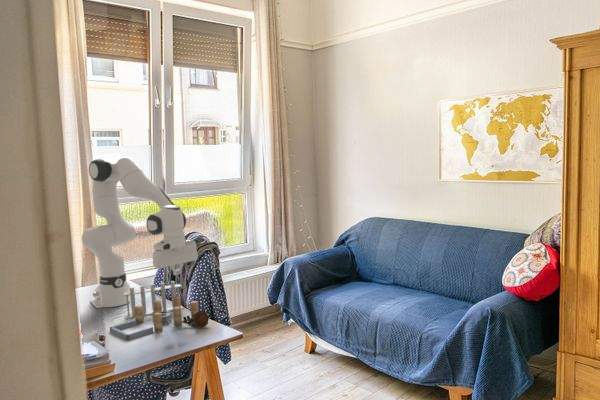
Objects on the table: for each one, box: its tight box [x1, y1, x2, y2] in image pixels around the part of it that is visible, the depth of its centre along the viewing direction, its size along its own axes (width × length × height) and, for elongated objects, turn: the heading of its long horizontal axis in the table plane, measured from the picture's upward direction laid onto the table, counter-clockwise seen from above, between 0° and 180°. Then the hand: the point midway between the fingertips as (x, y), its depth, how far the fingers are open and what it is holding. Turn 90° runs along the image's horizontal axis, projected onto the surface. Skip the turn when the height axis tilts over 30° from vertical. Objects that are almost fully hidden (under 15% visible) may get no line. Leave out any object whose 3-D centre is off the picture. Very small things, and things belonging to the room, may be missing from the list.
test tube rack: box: [123, 280, 184, 320], centre depth 217 cm, size 25×4×13 cm, turn 115°
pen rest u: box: [109, 319, 154, 341], centre depth 194 cm, size 15×11×2 cm
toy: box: [181, 309, 210, 329], centre depth 199 cm, size 10×7×15 cm
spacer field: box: [134, 295, 200, 333], centre depth 206 cm, size 19×21×7 cm
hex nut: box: [161, 312, 172, 325], centre depth 204 cm, size 6×5×3 cm
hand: (177, 274), depth 208 cm, fingers closed
